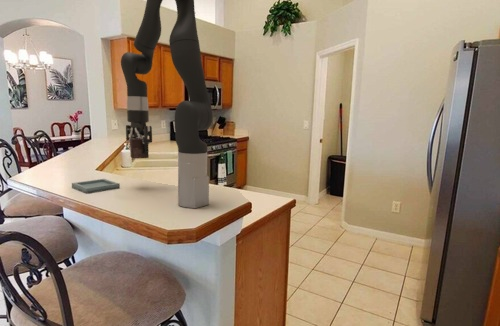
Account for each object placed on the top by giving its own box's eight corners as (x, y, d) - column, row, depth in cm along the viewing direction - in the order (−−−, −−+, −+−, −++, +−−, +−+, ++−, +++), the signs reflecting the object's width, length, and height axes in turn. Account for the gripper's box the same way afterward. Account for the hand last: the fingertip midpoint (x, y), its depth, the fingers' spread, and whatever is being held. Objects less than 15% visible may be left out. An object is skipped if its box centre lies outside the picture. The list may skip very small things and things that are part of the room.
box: (148, 158, 118) (148, 138, 117) (131, 159, 115) (131, 139, 114) (146, 156, 123) (146, 137, 122) (130, 157, 120) (129, 137, 119)
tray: (119, 188, 121) (119, 183, 121) (86, 193, 111) (86, 188, 111) (104, 183, 129) (104, 178, 128) (71, 187, 119) (71, 183, 119)
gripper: (157, 109, 115) (158, 154, 117) (136, 109, 124) (137, 151, 126) (139, 109, 109) (140, 155, 111) (118, 109, 118) (120, 152, 120)
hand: (139, 153), depth 119 cm, fingers closed on box, 7 cm apart
